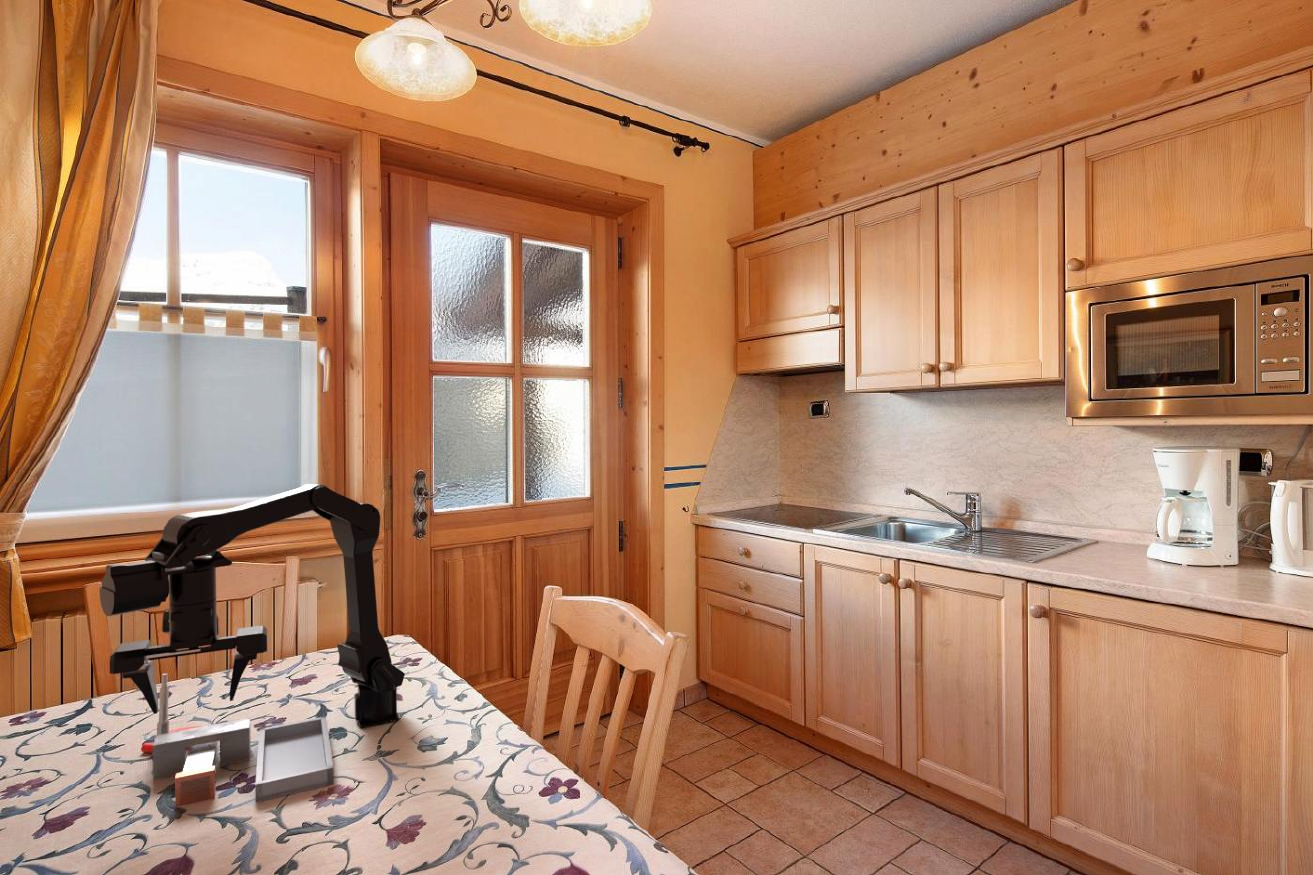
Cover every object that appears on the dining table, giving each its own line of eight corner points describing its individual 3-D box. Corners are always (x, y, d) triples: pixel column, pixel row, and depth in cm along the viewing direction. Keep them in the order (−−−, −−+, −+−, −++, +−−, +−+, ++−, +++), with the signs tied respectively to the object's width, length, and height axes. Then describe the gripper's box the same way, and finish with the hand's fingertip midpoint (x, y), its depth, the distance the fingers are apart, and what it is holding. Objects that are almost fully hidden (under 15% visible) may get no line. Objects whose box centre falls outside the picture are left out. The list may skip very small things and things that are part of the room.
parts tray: (326, 730, 119) (325, 716, 119) (333, 783, 101) (333, 767, 101) (259, 743, 114) (259, 728, 114) (255, 802, 96) (255, 784, 96)
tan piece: (188, 761, 108) (187, 734, 108) (222, 754, 111) (222, 728, 111) (175, 807, 95) (174, 778, 95) (214, 798, 97) (214, 770, 97)
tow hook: (183, 731, 120) (135, 754, 111) (185, 657, 120) (137, 674, 111) (225, 734, 119) (180, 758, 109) (227, 660, 119) (183, 677, 110)
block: (250, 749, 112) (250, 717, 112) (249, 759, 109) (249, 727, 108) (157, 767, 106) (156, 734, 106) (153, 779, 103) (152, 745, 102)
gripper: (267, 581, 111) (268, 676, 111) (123, 596, 102) (125, 699, 102) (266, 597, 101) (267, 700, 102) (107, 614, 92) (109, 728, 93)
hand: (194, 706), depth 100 cm, fingers open, 9 cm apart
